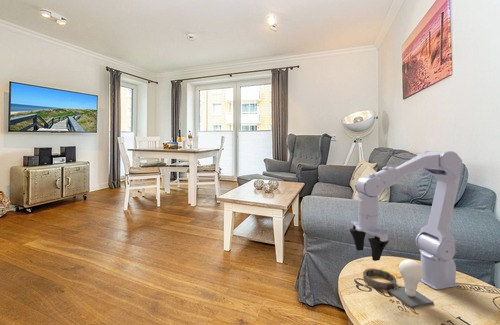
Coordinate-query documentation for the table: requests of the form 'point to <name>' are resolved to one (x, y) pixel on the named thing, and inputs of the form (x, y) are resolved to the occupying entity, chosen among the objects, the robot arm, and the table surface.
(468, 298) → the table surface
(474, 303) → the table surface
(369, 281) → the collar
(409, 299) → the mat
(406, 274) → the lightbulb
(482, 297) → the table surface
